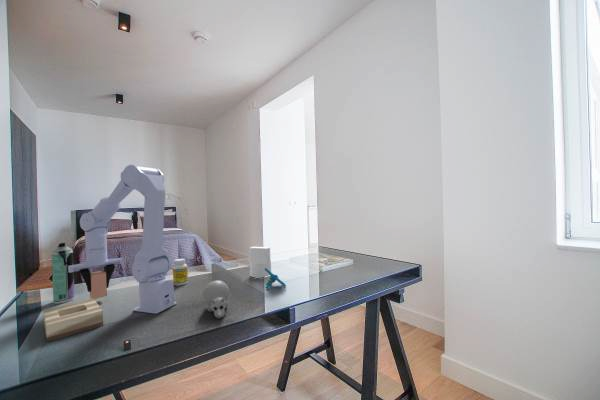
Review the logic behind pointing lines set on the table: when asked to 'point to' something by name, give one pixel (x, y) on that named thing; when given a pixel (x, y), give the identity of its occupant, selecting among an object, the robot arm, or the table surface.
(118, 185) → the robot arm
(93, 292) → the peg
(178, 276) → the supplement bottle
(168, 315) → the table surface
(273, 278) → the teal crossed bar figure
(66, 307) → the socket block
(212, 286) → the grey skull
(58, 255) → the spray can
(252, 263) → the white rectangular block
